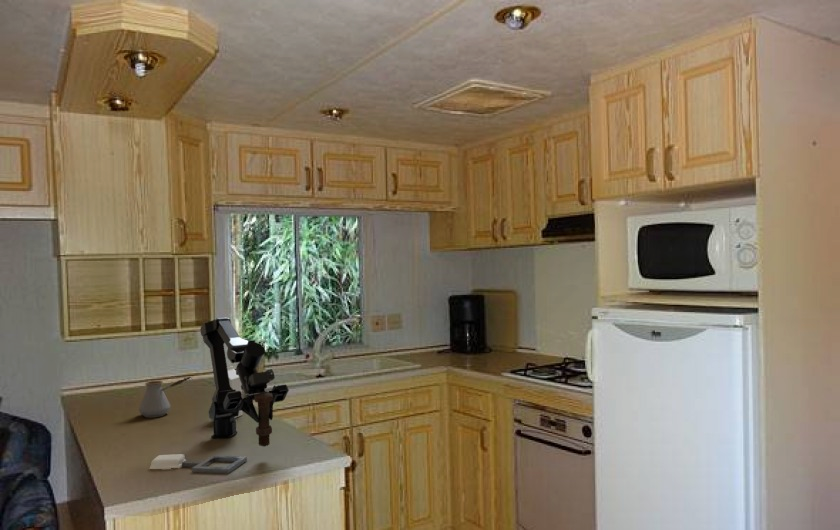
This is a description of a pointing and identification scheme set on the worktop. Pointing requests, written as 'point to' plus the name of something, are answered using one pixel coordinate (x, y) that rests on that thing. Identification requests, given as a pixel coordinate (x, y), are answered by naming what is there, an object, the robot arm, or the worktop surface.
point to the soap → (168, 461)
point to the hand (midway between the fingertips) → (265, 420)
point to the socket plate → (201, 467)
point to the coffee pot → (156, 399)
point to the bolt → (263, 418)
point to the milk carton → (234, 383)
